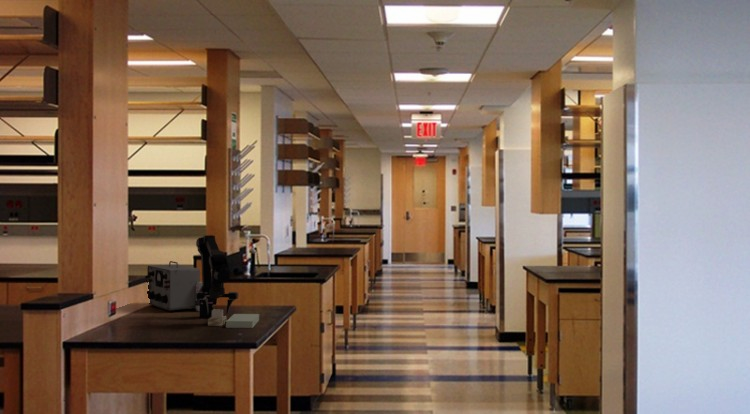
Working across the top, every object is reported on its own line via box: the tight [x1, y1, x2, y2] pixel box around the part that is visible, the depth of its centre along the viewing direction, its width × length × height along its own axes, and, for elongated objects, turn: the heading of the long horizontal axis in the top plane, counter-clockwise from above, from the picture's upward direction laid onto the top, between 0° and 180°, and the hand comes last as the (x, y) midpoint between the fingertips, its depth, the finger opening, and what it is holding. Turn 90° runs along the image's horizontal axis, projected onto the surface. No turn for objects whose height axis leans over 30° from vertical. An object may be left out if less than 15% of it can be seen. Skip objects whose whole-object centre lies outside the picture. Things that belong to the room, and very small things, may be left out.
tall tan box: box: [207, 315, 227, 327], centre depth 350 cm, size 6×11×3 cm, turn 1°
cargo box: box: [212, 309, 224, 318], centre depth 350 cm, size 4×4×4 cm
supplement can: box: [195, 281, 211, 313], centre depth 391 cm, size 8×8×15 cm
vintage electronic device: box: [144, 260, 201, 313], centre depth 399 cm, size 32×18×25 cm, turn 37°
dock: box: [225, 313, 260, 329], centre depth 350 cm, size 12×22×3 cm, turn 1°
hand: (217, 313), depth 350 cm, fingers open, 9 cm apart
